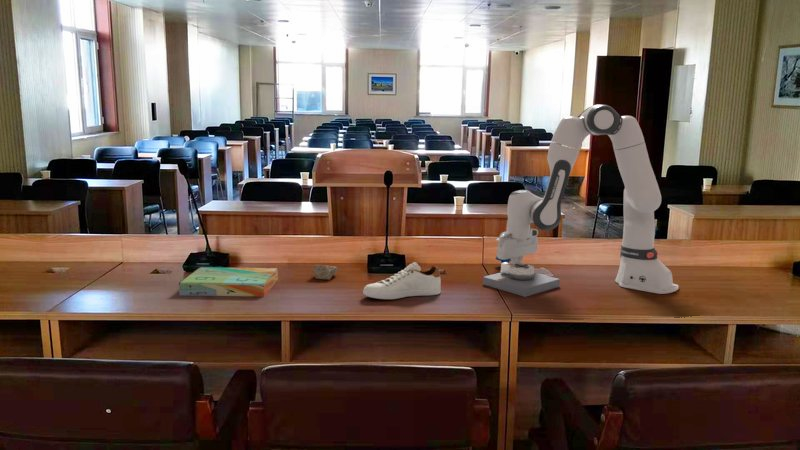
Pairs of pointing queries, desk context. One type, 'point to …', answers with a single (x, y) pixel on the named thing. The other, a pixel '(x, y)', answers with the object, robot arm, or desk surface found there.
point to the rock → (324, 271)
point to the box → (229, 282)
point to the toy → (496, 255)
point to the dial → (518, 270)
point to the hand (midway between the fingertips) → (516, 267)
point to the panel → (521, 283)
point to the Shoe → (406, 284)
